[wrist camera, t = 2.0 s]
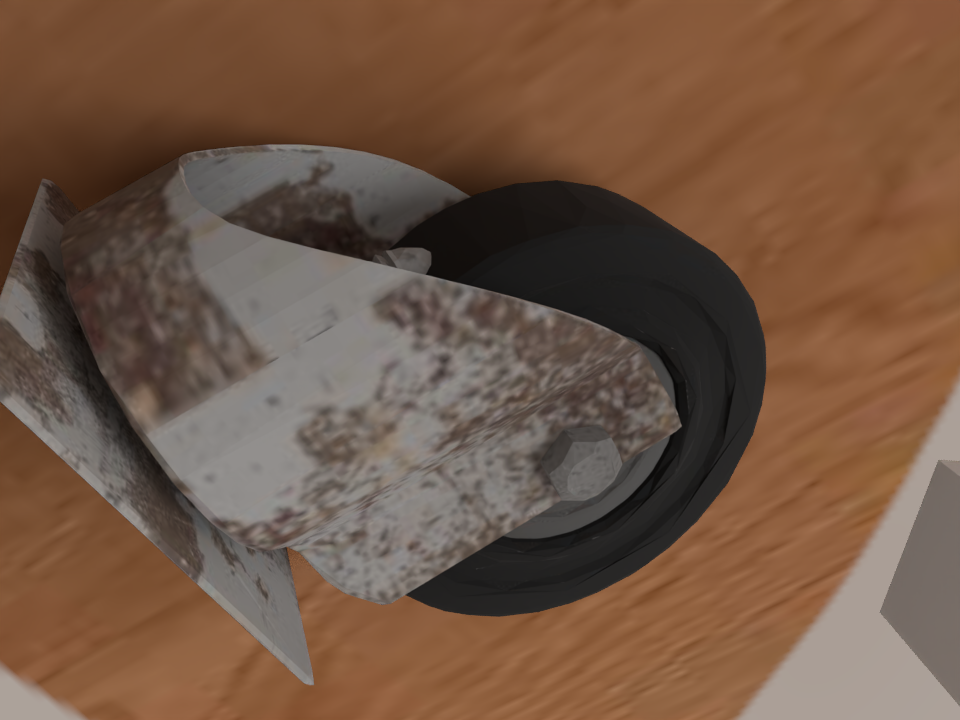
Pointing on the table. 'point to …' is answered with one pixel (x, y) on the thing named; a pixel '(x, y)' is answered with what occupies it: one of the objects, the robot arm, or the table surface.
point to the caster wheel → (381, 378)
